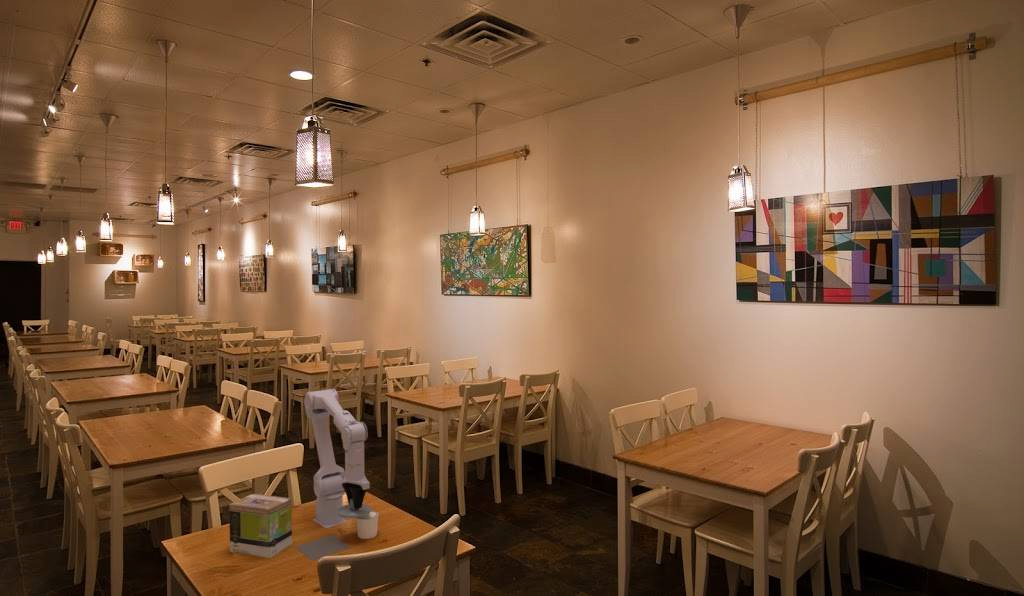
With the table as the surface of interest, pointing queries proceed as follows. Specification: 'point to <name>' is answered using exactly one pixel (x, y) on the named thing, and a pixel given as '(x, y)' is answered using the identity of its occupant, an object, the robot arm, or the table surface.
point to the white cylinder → (367, 525)
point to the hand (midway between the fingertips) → (355, 506)
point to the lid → (353, 510)
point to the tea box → (260, 525)
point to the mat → (322, 547)
